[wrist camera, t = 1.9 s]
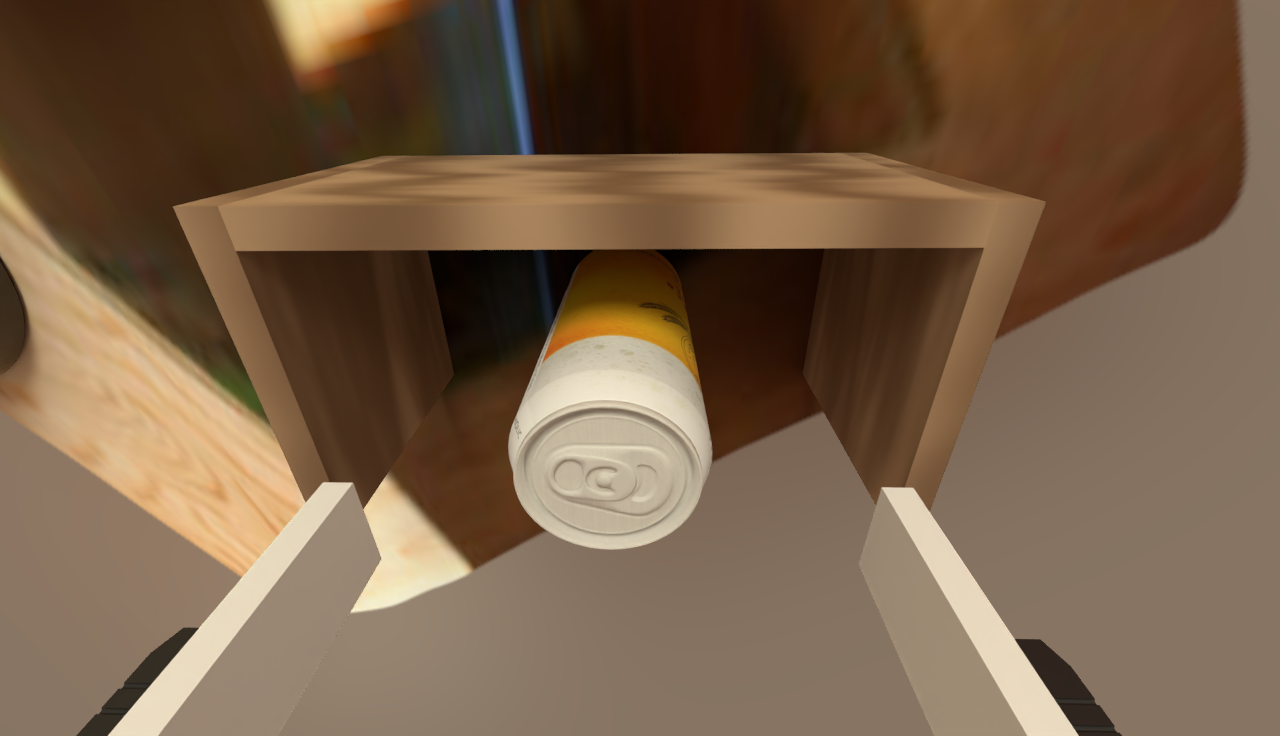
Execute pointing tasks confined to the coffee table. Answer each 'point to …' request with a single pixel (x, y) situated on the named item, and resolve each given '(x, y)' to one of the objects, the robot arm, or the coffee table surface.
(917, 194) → the wooden monitor riser
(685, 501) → the beer can
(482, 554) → the coffee table surface
